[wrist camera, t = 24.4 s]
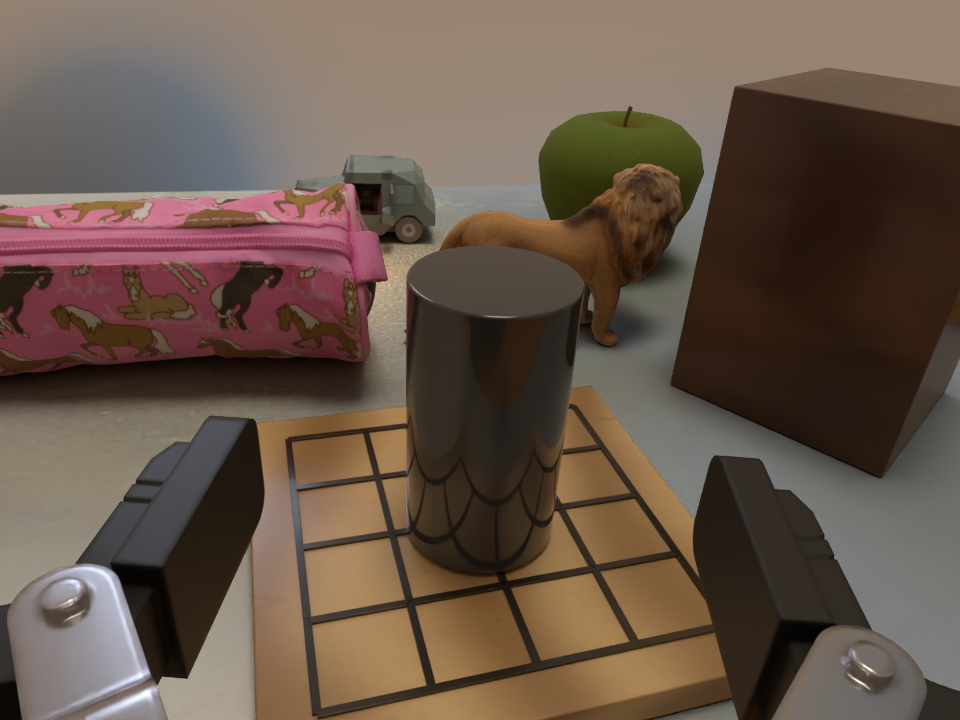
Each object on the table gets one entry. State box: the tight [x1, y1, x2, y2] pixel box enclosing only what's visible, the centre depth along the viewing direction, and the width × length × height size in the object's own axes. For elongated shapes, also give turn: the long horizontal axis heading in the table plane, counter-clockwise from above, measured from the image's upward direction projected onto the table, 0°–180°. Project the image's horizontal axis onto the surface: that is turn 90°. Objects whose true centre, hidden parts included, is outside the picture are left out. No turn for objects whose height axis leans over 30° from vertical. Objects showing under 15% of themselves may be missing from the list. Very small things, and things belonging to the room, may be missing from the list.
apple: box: [539, 106, 704, 223], centre depth 48 cm, size 11×10×10 cm
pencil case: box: [0, 182, 388, 376], centre depth 33 cm, size 21×9×9 cm, turn 100°
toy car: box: [289, 155, 435, 243], centre depth 50 cm, size 6×10×5 cm, turn 97°
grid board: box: [251, 386, 732, 720], centre depth 25 cm, size 15×15×1 cm
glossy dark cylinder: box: [406, 246, 585, 574], centre depth 23 cm, size 5×5×9 cm
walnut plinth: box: [671, 68, 960, 477], centre depth 33 cm, size 10×10×14 cm
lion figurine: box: [404, 164, 683, 346], centre depth 38 cm, size 15×5×9 cm, turn 107°
